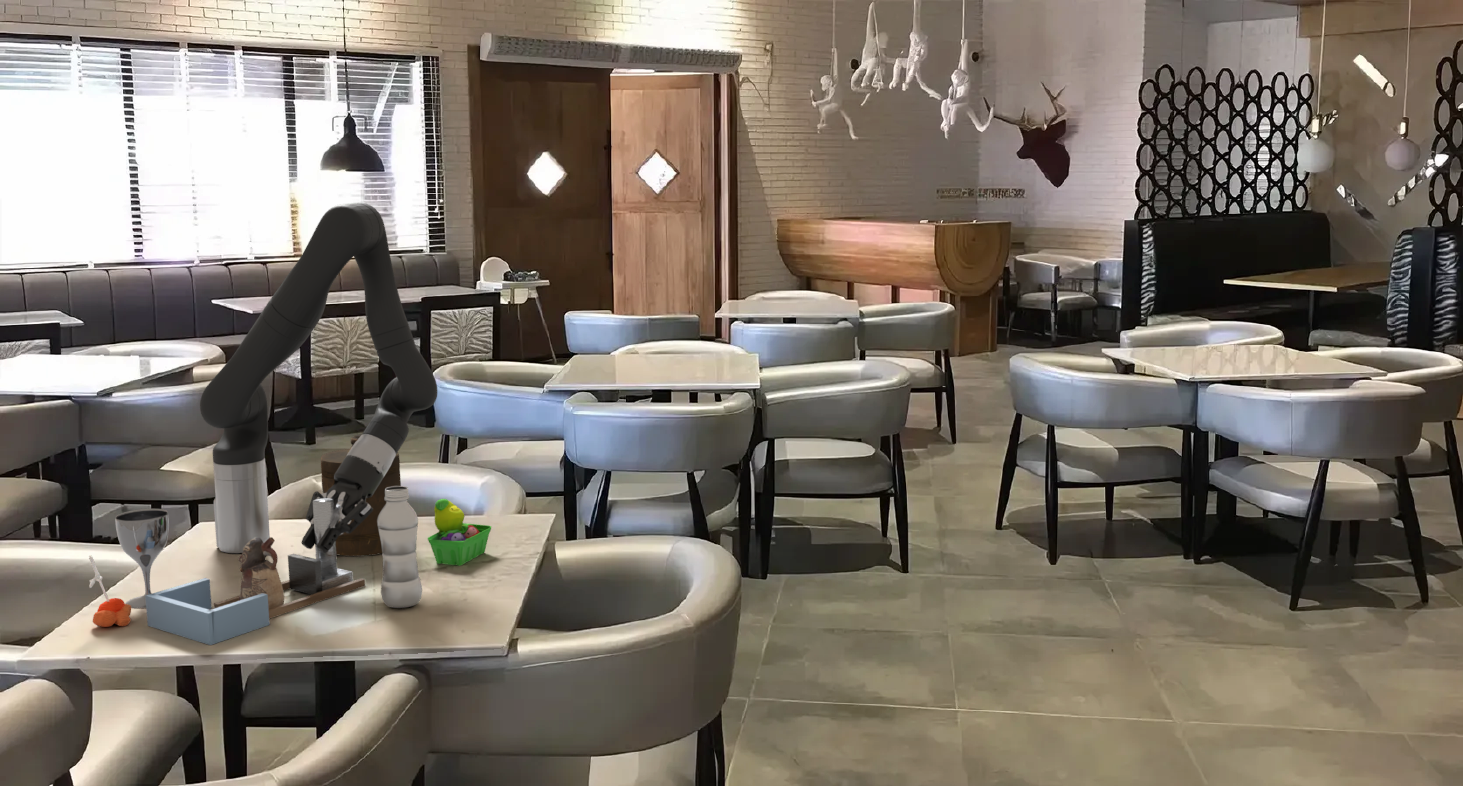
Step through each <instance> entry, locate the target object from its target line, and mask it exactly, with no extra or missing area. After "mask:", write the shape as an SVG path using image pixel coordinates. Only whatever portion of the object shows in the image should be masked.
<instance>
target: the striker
mask: <svg viewBox="0 0 1463 786" xmlns="http://www.w3.org/2000/svg"><path fill="white" fill-rule="evenodd" d="M333 512H334V502H333V499H330V498H322V499H316V500H314V501H313V516H314V533H315V545H314V546H315V558H314V557H311V556H305V555H300V554H297V553H292V554H288V555H287V564H288V565H287V566H288V580H289V584H290V589H289V590H292V591H297V592H300V593H305V594H308V595H312V594H315V593H318V592H321V591H324V590H327V589H330V588H334V587H337V586H340V585H343V584H346V583H349V582H352V581H354V575H353V571H351V570H347V569H343V568H338V560H337V559H338V557H337V556H338V555H336V541H335V542H334V544H333V546H332V547H331V548H330V549H329V551H328V552H327V553H325V552H322V551H321V550H320V549H318V548H317V544H318V543H319V541H320V539H321V538H322V536H323V535H324V533H325V531H326V530H327V528H329V529H330V524H331V522H332V520H333Z"/></svg>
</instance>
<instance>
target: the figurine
mask: <svg viewBox="0 0 1463 786" xmlns="http://www.w3.org/2000/svg"><path fill="white" fill-rule="evenodd" d="M274 543H275V538H273V537H272V536H270V538H269V539H268V540H267V541H266V542H265V543H263V541H262V539H261V538H259V537H256V538H254V539H252V540H250V541H249V542H248V543H247V544H246V545H245V547H244V548H243V553H241V555H240V556H239V557H238V559H237V561H238V562H239V563H240V568H239V572H240V573H241V574H242V576H241V579H240V591H239V595H240V596H239V595H238V596H239V601H240V600H243V599H246V598H249V597H252V596H256V595H259V594H262V593H264V594H267V595H268V609H270V608H273V607H276V606H279V605H282V604H285V593H284V591H283V587H282V584H281V582H282V581H281V578H280V573H279V571H278V569H277V565H278V564H277V563H278V558H279V557H278V554H277V552H276V550H275V549H274V548H272V546H273V544H274ZM267 557H270V558H271V559H272V562H271V561H270V560H267Z"/></svg>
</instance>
